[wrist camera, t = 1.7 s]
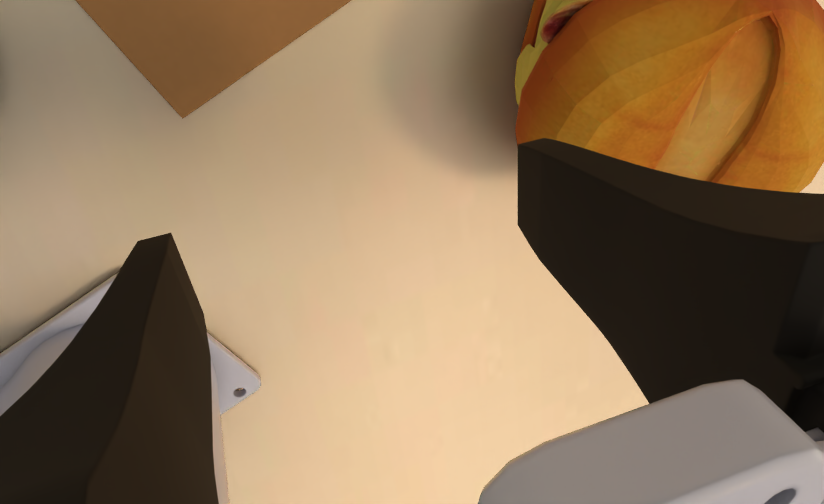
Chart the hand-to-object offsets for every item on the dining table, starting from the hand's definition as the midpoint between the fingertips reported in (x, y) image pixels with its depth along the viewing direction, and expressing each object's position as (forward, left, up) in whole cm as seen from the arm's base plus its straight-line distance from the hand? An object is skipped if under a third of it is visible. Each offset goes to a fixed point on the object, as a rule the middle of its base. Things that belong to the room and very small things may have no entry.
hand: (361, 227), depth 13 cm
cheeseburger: (+10, -6, -10) cm, 16 cm away
